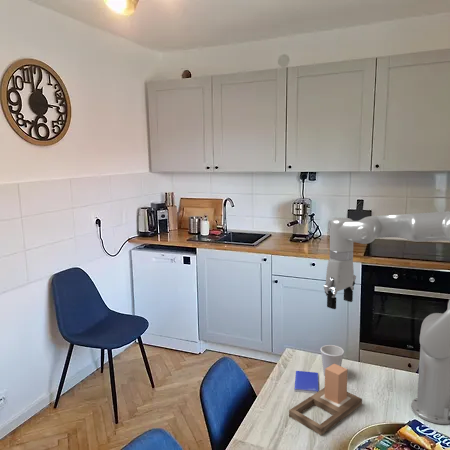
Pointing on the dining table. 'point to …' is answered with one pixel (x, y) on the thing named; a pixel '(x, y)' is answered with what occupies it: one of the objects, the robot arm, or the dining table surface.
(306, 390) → the hard drive
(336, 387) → the block
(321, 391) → the socket board
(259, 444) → the dining table surface
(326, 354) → the dixie cup
